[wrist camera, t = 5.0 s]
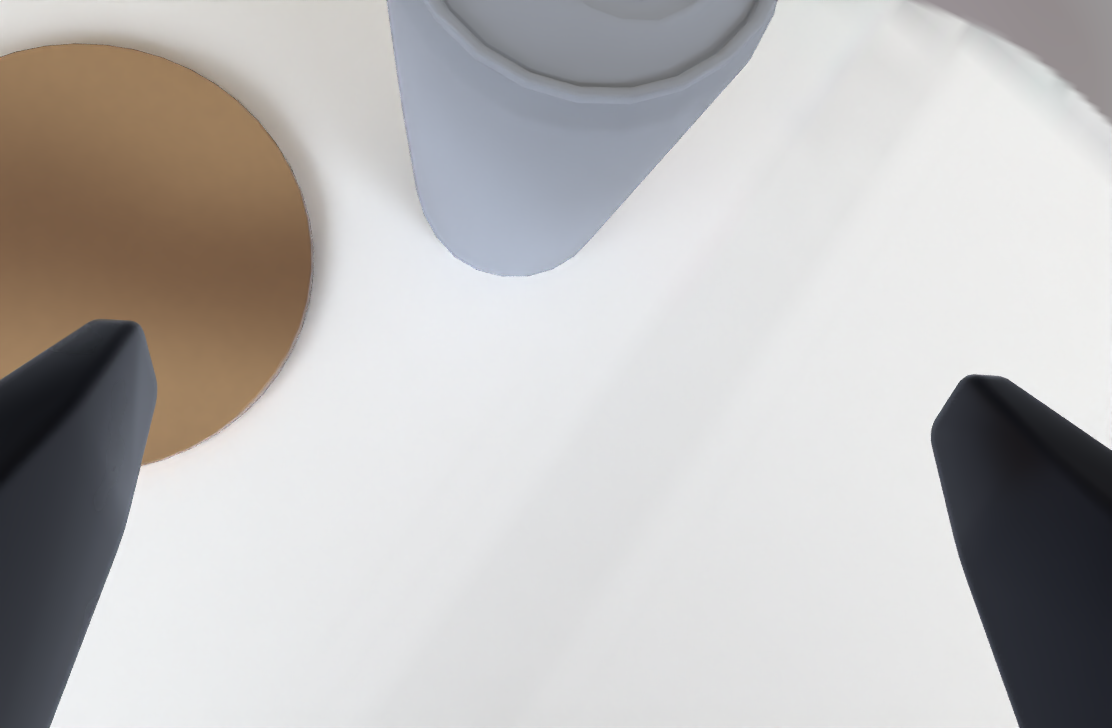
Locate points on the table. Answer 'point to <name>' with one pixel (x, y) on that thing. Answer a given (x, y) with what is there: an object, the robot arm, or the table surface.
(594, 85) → the beverage can
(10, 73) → the cork coaster
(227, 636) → the table surface
